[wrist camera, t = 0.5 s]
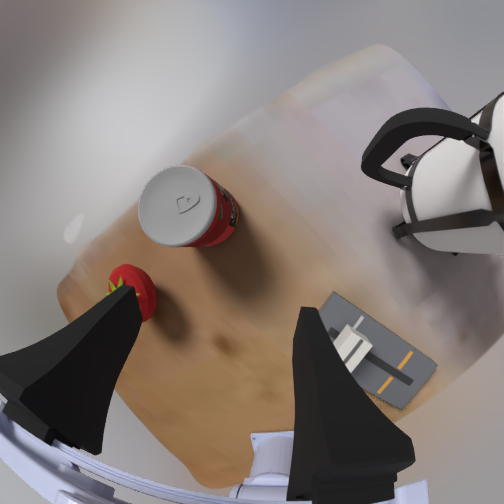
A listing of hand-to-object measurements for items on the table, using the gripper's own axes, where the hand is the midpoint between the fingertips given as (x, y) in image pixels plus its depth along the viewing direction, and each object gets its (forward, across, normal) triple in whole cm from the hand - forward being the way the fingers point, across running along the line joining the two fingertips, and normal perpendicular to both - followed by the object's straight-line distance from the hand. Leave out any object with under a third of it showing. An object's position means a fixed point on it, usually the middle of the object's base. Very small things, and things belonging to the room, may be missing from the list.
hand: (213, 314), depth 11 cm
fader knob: (+13, -12, +16) cm, 24 cm away
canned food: (+23, +6, +7) cm, 25 cm away
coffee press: (+23, -22, +2) cm, 32 cm away
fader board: (+13, -17, +19) cm, 29 cm away
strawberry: (+19, +13, +16) cm, 28 cm away
